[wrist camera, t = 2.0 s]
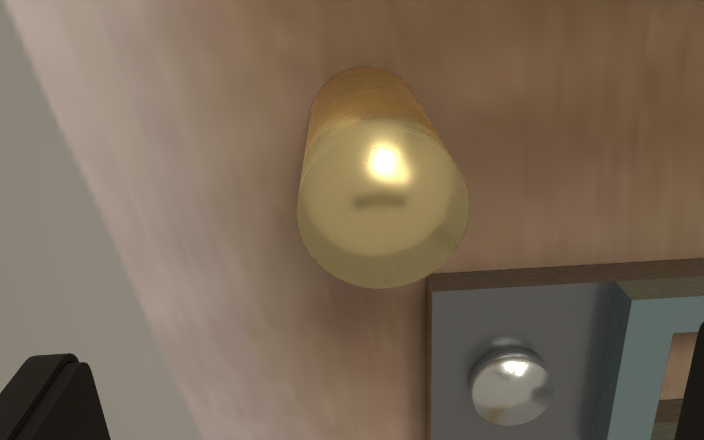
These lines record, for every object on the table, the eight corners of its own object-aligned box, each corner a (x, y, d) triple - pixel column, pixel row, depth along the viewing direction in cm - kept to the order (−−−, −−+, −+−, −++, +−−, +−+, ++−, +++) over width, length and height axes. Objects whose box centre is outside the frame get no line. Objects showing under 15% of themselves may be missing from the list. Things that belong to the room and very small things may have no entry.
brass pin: (305, 70, 22) (288, 135, 14) (420, 63, 22) (472, 125, 14) (313, 178, 24) (304, 293, 16) (420, 172, 24) (466, 284, 16)
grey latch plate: (427, 274, 26) (436, 304, 23) (830, 250, 26) (878, 278, 24) (426, 440, 30) (433, 480, 28) (774, 419, 30) (810, 457, 28)
